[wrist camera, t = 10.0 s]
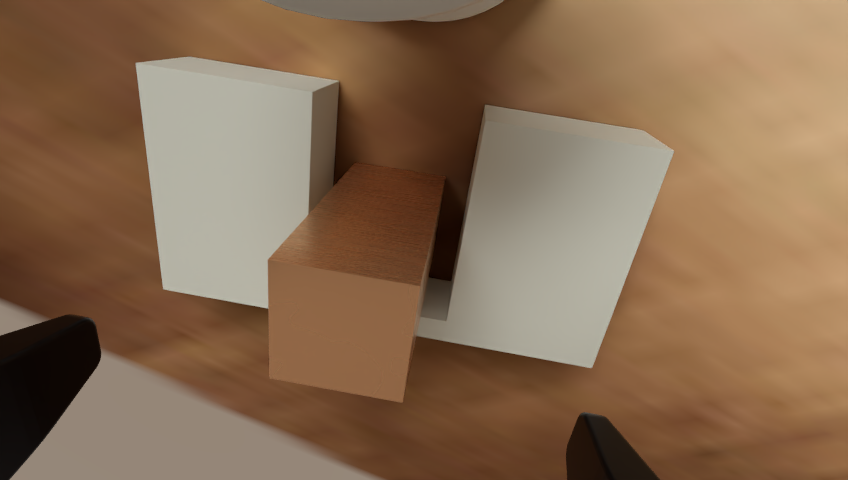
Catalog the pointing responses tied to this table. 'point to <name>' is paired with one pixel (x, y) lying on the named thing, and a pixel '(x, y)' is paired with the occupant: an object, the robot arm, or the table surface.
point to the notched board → (482, 223)
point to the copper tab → (355, 283)
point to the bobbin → (388, 9)
